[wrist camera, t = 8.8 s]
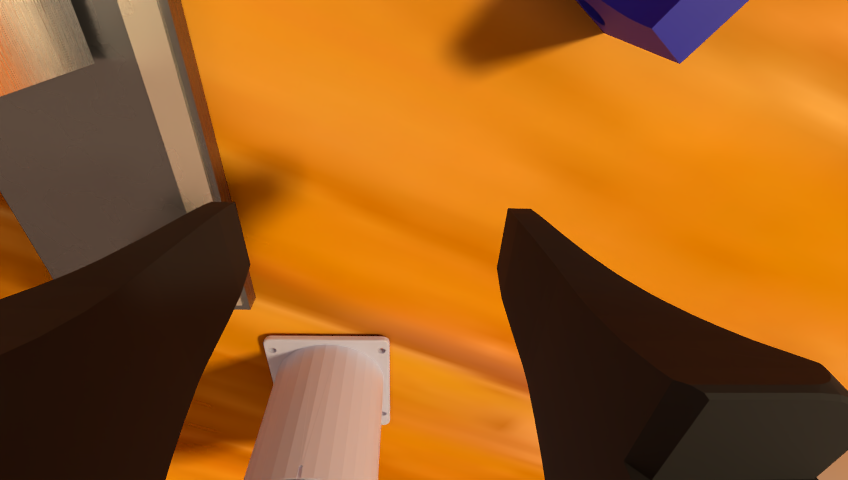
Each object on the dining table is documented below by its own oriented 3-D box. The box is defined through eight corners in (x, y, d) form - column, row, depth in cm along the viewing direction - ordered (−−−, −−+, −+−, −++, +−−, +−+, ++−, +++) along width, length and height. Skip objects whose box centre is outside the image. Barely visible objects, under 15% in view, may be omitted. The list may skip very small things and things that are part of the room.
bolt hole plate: (255, 297, 25) (249, 312, 24) (82, 295, 24) (68, 310, 23) (159, -82, 15) (141, -85, 14) (-143, -99, 14) (-184, -102, 13)
